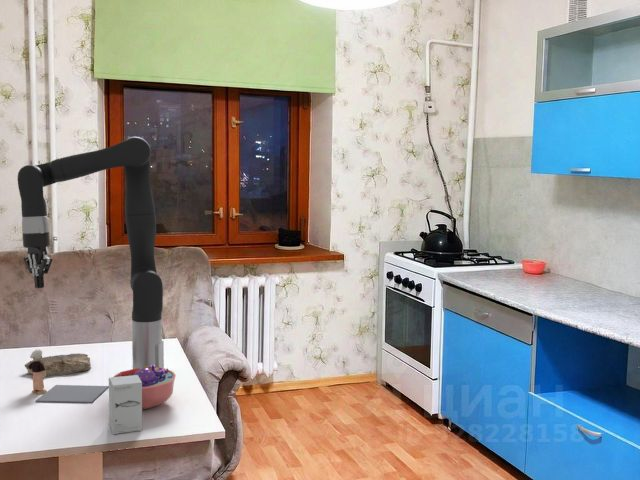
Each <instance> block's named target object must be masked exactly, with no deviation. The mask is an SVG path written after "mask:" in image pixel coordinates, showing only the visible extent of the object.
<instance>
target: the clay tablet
mask: <svg viewBox="0 0 640 480" xmlns="http://www.w3.org/2000/svg"><path fill="white" fill-rule="evenodd" d="M32 362H34V360H33V359H32V360H30V361H29V362H27V363H26V364H24V368H25V369H26V370H27V371H28V366H29V365H30V364H31V363H32ZM40 362H42V363H43V365H44V368H45V372H46V377H54V376H63V375H70V374H71V373H73V374H74V373H77V372H86V371H88V370H90V369H91V368H92V364H91V357H89V355H88V354H85V353H78V352H77V353H69V354H58V355H57V354H56V355H52V356H51V355H50V356H44V357H42V360H41V361H40ZM30 374H31V375H32V376H33V372H32V370H31V372H30Z"/></svg>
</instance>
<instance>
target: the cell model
mask: <svg viewBox="0 0 640 480" xmlns="http://www.w3.org/2000/svg"><path fill="white" fill-rule="evenodd" d="M132 375H138V376H139V378H140V380H141V382H142V410H147V409H150V408H154V407H158V406H161V404H164V403H165V402H167V401H168V400H169V399H170V398H171V397H172V395H173V393H174V386H175V385H174V384H175V379H176V373H175V372H174V371H173V370H170V369H169V368H165V367H164V368H161V367H155V365H152V366H146V367H141V368H135V369H133V368H132V369H128V370H123V371H120V372H118V373H116V374H115V375H114V376H113V377H121V376H132Z"/></svg>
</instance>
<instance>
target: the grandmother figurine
mask: <svg viewBox="0 0 640 480" xmlns="http://www.w3.org/2000/svg"><path fill="white" fill-rule="evenodd" d="M29 358H30V359H32V360H34V362H32V363H31V364H30V365H29V366H28V370H27V373H29V374H31V370H32V372H33V375H32V388H33V389H32V391H31V393H32V394H36V395H43V394H45V393H46V392H47V391H48V390H46V389H45V384H44V378H46V377H47V376H46V372H45V368H44V365H43V363H42V362H40V361H41V360H42V358H43V350H41V349H35V350H33V351H32V352H31V354H30V355H29Z"/></svg>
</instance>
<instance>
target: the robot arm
mask: <svg viewBox="0 0 640 480" xmlns="http://www.w3.org/2000/svg"><path fill="white" fill-rule="evenodd" d="M151 153H152V150H151V147H150V144H149V143H148V142H147V141H146V140H145V139H144V138H142V137H141V136H140V137H139V136H131V137H130V136H129V137H128V138H127V139H124V140H123V141H121V142H118V143H116V144H113V145H110V146H108V147H105V148H102V149H98V150H93V151H89V152H83V153H82V152H81V153H77V154H72V155H68V156H64V157H60V158H57V159H54V160H52V161H50V162H46V163H41V164H36V165H32V164H28V165H24V166H22V167H21V168H20V169H19V171H18V173H17V186H18V187H17V188H18V191H19V196H20V199H21V202H20V203H21V232H22V246H23V248H24V249H27V252H26V253H27V256H25V257H22V258H23V262H24V264H25V266H26V268H27V271H28V272H29V274H31V275H32V276H33V279H34V280H33V281H34V288H35V289H44V287H45V281H44V280H45V278H44V276H45V275H47V274H48V273H49V270H50V268H51V264H52V262H53V258H52V257H49V256H48V250H47V247H49V246H51V240H50V225H49V220H48V210H47V208H48V207H47V202H46V199H45V197H44V188H45V187H47V186H51V185H53V184H56V183H60V182H67V181H71V180H75V179H79V178H82V177H85V176H89V175H93V174H95V173H98V172H102V171H106V170H109V169H115V168H121V167H122V168H124V169H123V170H124V173H125V182H126V183H125V185H126V186H125V188H126V189H125V200H124V209H125V210H124V212H125V213H124V215H125V225H126V232H127V233H126V235H127V241H128V245H129V251H130V288H131V290H132V311H131V328H132V329H131V341H132V342H131V345H132V347H131V350H132V369H135V368H141V367H146V366H152V365H155V367H161V368H165V367H164V366H165V359H164V357H165V354H164V353H165V352H164V350H165V349H164V345H165V344H164V340H162V339H163V337H162V334H163V333H162V332H163V331H162V325H163V324H162V323H163V322H162V321H163V320H162V317H163V316H162V314H163V307H164V306H163V304H164V303H163V302H164V301H163V300H164V292H163V291H164V290H163V289H164V286H163V281H162V278H161V277H160V275H159V274H158V271H157V267H156V262H155V261H156V260H155V243H156V236H157V235H156V234H157V218H156V217H157V216H156V207H155V201H154V195H153V191H152V187H151V186H152V185H151V181H150V180H151V179H150V177H151V176H150V171H151V170H150V167H151V166H150V163H151Z"/></svg>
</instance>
